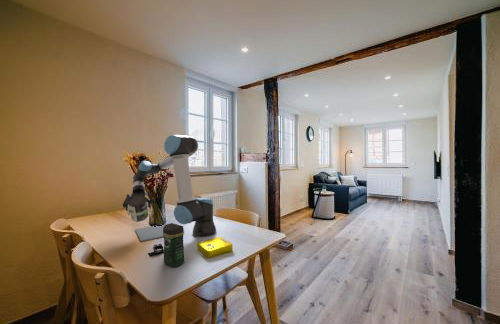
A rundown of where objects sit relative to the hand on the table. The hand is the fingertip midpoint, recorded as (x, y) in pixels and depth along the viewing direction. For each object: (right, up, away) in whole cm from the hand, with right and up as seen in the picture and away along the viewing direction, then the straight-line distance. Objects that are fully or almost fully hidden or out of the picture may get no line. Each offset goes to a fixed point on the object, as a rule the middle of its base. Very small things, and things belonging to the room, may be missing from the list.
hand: (138, 212), depth 135 cm
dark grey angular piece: (+20, -18, -18) cm, 32 cm away
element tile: (+49, -17, -16) cm, 55 cm away
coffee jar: (+32, -17, -30) cm, 48 cm away
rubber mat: (+4, -17, +13) cm, 22 cm away
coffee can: (-3, -4, +7) cm, 9 cm away
